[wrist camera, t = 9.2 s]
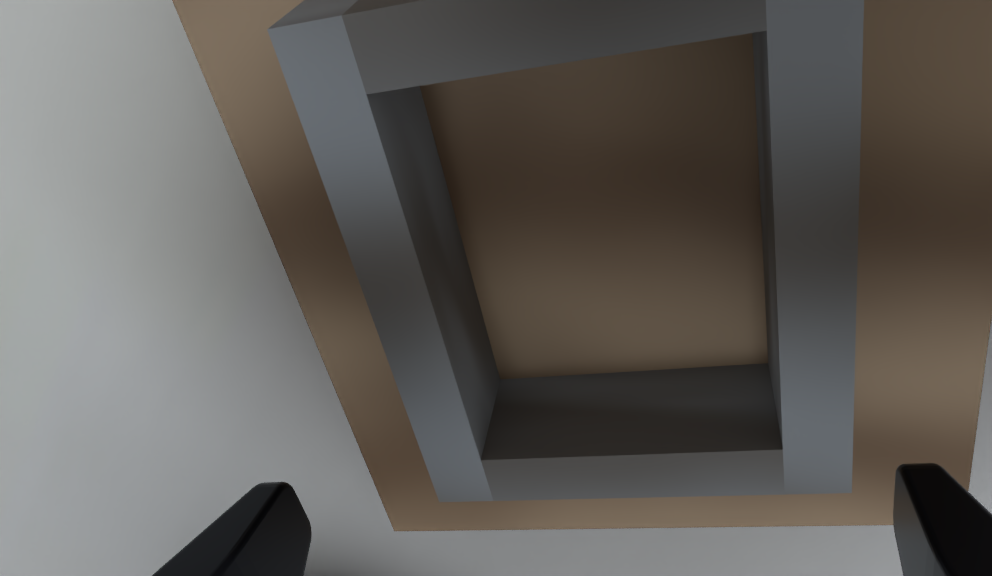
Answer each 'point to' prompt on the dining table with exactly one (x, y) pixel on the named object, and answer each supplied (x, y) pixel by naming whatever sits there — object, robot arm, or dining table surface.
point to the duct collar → (627, 245)
